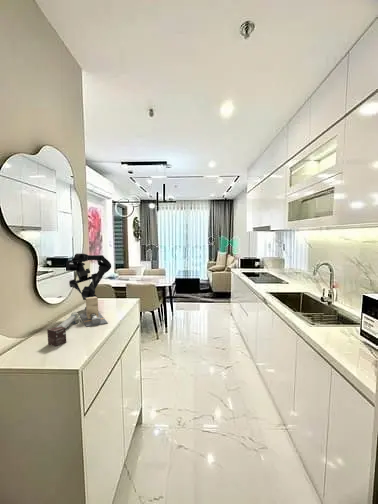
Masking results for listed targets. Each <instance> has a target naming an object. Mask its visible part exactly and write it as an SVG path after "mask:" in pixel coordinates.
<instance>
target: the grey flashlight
mask: <svg viewBox="0 0 378 504" xmlns="http://www.w3.org/2000/svg"><path fill="white" fill-rule="evenodd" d="M80 318H81V316H80V315H79V314H78V312H77V311H73V312H71V314H70V316H69V317H68V318H67V319H65V320H64V321H62V322H61V323H60V324H58V325H57V326H56V327H58V326H59V327H64V328H66V329H67V327H69V326H70V325H72V324H78V323H80Z"/></svg>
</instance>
